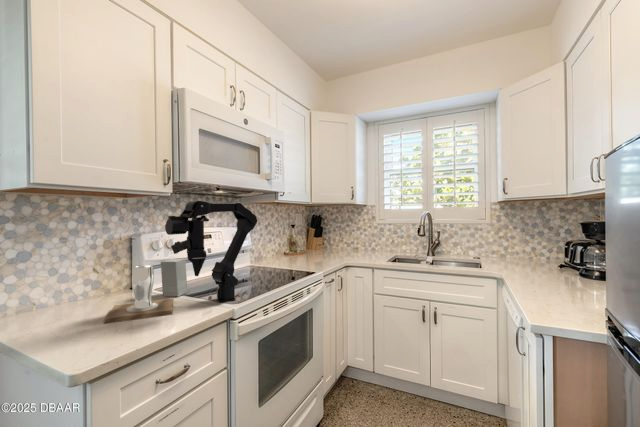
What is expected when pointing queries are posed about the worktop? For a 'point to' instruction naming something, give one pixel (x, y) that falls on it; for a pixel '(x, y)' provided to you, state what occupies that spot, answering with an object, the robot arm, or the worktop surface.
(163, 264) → the skincare box
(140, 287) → the beer glass
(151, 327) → the worktop surface
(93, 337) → the worktop surface
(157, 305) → the walnut board
